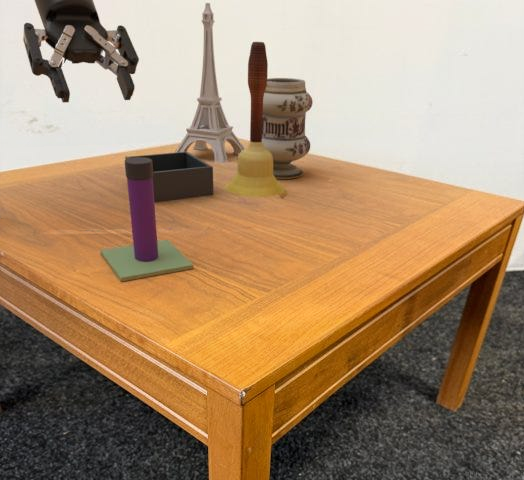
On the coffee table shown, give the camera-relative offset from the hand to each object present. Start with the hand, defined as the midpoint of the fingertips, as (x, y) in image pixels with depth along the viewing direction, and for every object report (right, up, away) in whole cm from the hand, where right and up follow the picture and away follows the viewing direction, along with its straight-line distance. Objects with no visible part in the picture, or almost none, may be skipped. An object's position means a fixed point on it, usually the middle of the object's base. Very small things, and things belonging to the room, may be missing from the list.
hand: (98, 97), depth 74 cm
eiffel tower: (+10, +11, +54) cm, 56 cm away
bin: (+5, -5, +28) cm, 29 cm away
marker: (+6, -21, +2) cm, 22 cm away
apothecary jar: (+26, +3, +43) cm, 50 cm away
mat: (+6, -22, +2) cm, 23 cm away
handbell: (+21, -4, +31) cm, 38 cm away
